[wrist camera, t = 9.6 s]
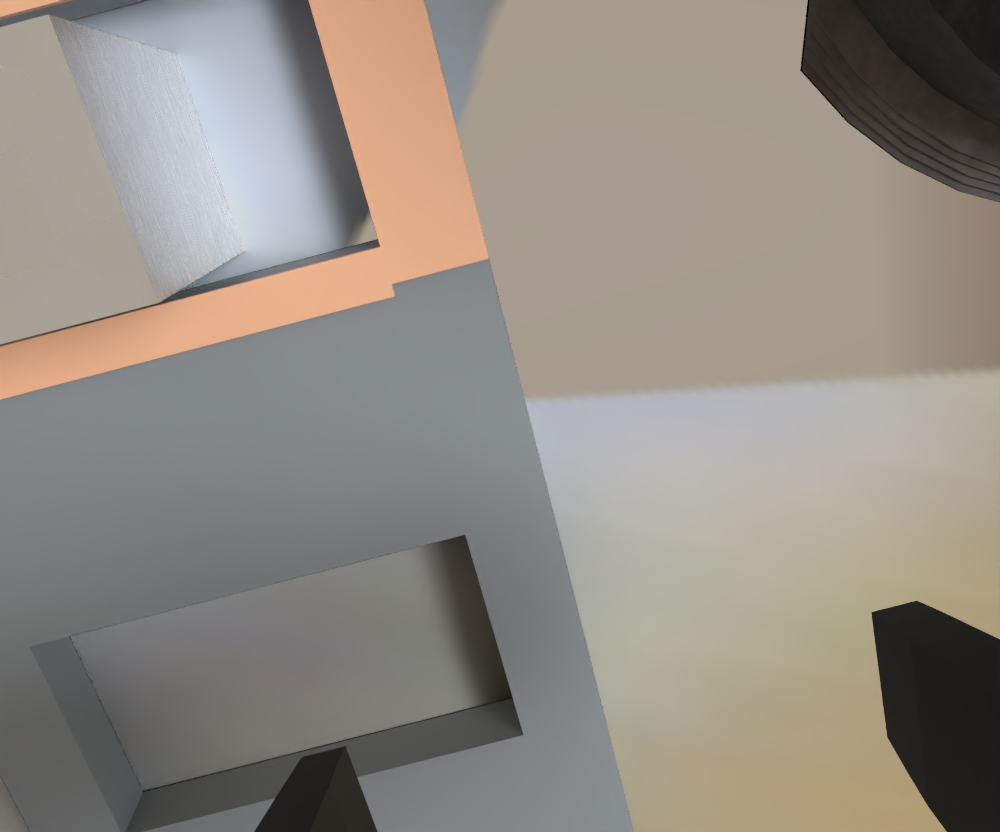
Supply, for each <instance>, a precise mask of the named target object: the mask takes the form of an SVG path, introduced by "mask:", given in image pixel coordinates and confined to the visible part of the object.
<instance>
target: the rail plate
mask: <svg viewBox="0 0 1000 832" xmlns="http://www.w3.org/2000/svg"><path fill="white" fill-rule="evenodd" d="M142 1H146V0H0V27H3V26H7V25H10V24H14V23H18V22H22V21H25V20H29V19H33V18H37V17H40V16H44V15H48V14H49V15H52V16H55V17H59V18H62V19H65V20H68V21H71V20H75V19H78V18H82V17H86V16H90V15H93V14H97V13H101V12H105V11H108V10H112V9H116V8H119V7H123V6H127V5H131V4H134V3H138V2H142ZM308 1H309V4H310V8H311V11H312V14H313V18H314V21H315V25H316V28H317V32H318V35H319V38H320V42H321V45H322V49H323V52H324V56H325V59H326V62H327V66H328V69H329V73H330V76H331V80H332V83H333V86H334V90H335V93H336V97H337V100H338V104H339V107H340V110H341V114H342V117H343V121H344V124H345V128H346V131H347V134H348V138H349V141H350V145H351V148H352V152H353V155H354V158H355V162H356V165H357V169H358V172H359V176H360V179H361V182H362V186H363V189H364V193H365V196H366V200H367V203H368V206H369V210H370V213H371V217H372V220H373V224H374V227H375V230H376V234H377V237H378V239H377V240H373V241H369V242H366V243H362V244H358V245H354V246H350V247H347V248H343V249H339V250H335V251H331V252H328V253H324V254H320V255H316V256H312V257H308V258H305V259H301V260H297V261H293V262H289V263H286V264H282V265H278V266H274V267H270V268H267V269H263V270H259V271H255V272H251V273H248V274H244V275H240V276H236V277H232V278H228V279H225V280H221V281H217V282H213V283H209V284H206V285H202V286H198V287H194V288H190V289H187V290H183V291H179V292H176V293H174V294H172V295H171V296H169V297H167V298H166V299H164V300H162V301H161V302H159V303H156V304H152V305H149V306H145V307H141V308H137V309H133V310H130V311H126V312H122V313H118V314H114V315H111V316H107V317H103V318H99V319H95V320H91V321H88V322H84V323H80V324H76V325H72V326H69V327H65V328H61V329H57V330H53V331H50V332H46V333H42V334H38V335H34V336H31V337H27V338H23V339H19V340H15V341H12V342H8V343H4V344H0V776H1V778H2V780H3V782H4V784H5V786H6V787H7V789H8V791H9V793H10V795H11V797H12V799H13V801H14V802H15V804H16V806H17V808H18V810H19V812H20V814H21V815H22V817H23V819H24V821H25V823H26V825H27V827H28V829H29V830H30V832H254V831H255V829H256V828H257V826H258V825H259V823H260V822H261V820H262V818H263V817H264V815H265V814H266V812H267V811H268V809H269V807H270V806H271V804H272V803H273V801H274V799H275V798H276V796H277V795H278V793H279V792H280V790H281V788H282V787H283V785H284V784H285V782H286V781H287V779H288V777H289V776H290V774H291V773H292V771H293V770H294V768H295V767H296V765H297V764H298V762H299V761H300V759H301V758H302V757H304V756H308V755H312V754H316V753H320V752H324V751H328V750H332V749H336V748H340V747H344V746H346V749H347V751H348V754H349V757H350V759H351V762H352V765H353V767H354V770H355V773H356V775H357V778H358V781H359V783H360V786H361V789H362V791H363V794H364V797H365V799H366V802H367V805H368V808H369V810H370V813H371V816H372V818H373V821H374V824H375V826H376V829H377V832H634V830H633V826H632V822H631V818H630V814H629V810H628V806H627V803H626V799H625V795H624V791H623V787H622V783H621V779H620V775H619V771H618V767H617V763H616V759H615V755H614V751H613V747H612V743H611V739H610V735H609V731H608V727H607V723H606V719H605V715H604V712H603V708H602V704H601V700H600V696H599V692H598V688H597V684H596V680H595V676H594V672H593V668H592V664H591V660H590V656H589V652H588V648H587V644H586V640H585V636H584V632H583V628H582V624H581V621H580V617H579V613H578V609H577V605H576V601H575V597H574V593H573V589H572V585H571V581H570V577H569V573H568V569H567V565H566V561H565V557H564V553H563V549H562V545H561V541H560V537H559V533H558V529H557V526H556V522H555V518H554V514H553V510H552V506H551V502H550V498H549V494H548V490H547V486H546V482H545V478H544V474H543V470H542V466H541V462H540V458H539V454H538V450H537V446H536V442H535V438H534V435H533V431H532V427H531V423H530V419H529V415H528V411H527V407H526V403H525V399H524V395H523V391H522V387H521V384H520V379H519V375H518V371H517V367H516V363H515V359H514V355H513V352H512V348H511V344H510V340H509V336H508V332H507V328H506V324H505V320H504V316H503V312H502V308H501V304H500V300H499V296H498V292H497V288H496V284H495V280H494V277H493V272H492V268H491V265H490V261H489V256H488V252H487V248H486V244H485V240H484V236H483V232H482V228H481V224H480V220H479V216H478V212H477V208H476V204H475V200H474V196H473V192H472V188H471V184H470V180H469V176H468V173H467V169H466V165H465V161H464V157H463V153H462V149H461V145H460V141H459V137H458V133H457V129H456V125H455V121H454V117H453V113H452V109H451V105H450V101H449V97H448V93H447V89H446V85H445V81H444V78H443V74H442V70H441V66H440V62H439V58H438V54H437V50H436V46H435V42H434V38H433V34H432V30H431V26H430V22H429V18H428V14H427V10H426V6H425V2H424V0H308ZM462 535H465V536H466V539H467V543H468V546H469V550H470V553H471V556H472V560H473V563H474V567H475V570H476V574H477V577H478V580H479V584H480V587H481V591H482V594H483V598H484V601H485V604H486V608H487V611H488V615H489V618H490V622H491V625H492V629H493V632H494V635H495V639H496V642H497V646H498V649H499V653H500V656H501V659H502V663H503V666H504V670H505V673H506V677H507V680H508V683H509V687H510V690H511V694H512V697H513V698H512V699H508V700H504V701H500V702H496V703H492V704H488V705H484V706H480V707H476V708H472V709H468V710H464V711H460V712H456V713H453V714H449V715H445V716H441V717H437V718H433V719H429V720H425V721H421V722H417V723H413V724H409V725H405V726H401V727H397V728H394V729H390V730H386V731H382V732H378V733H374V734H370V735H366V736H362V737H358V738H354V739H350V740H346V741H342V742H338V743H335V744H331V745H327V746H323V747H319V748H315V749H311V750H307V751H303V752H299V753H295V754H291V755H287V756H283V757H279V758H276V759H272V760H268V761H264V762H260V763H256V764H252V765H248V766H244V767H240V768H236V769H232V770H228V771H224V772H220V773H217V774H213V775H209V776H205V777H201V778H197V779H193V780H189V781H185V782H181V783H177V784H173V785H169V786H165V787H161V788H158V789H154V790H150V791H146V792H143V791H142V789H141V786H140V784H139V782H138V780H137V778H136V776H135V774H134V772H133V770H132V767H131V765H130V763H129V761H128V759H127V757H126V755H125V753H124V751H123V749H122V746H121V744H120V742H119V740H118V738H117V736H116V734H115V732H114V730H113V727H112V725H111V723H110V721H109V719H108V717H107V715H106V713H105V711H104V708H103V706H102V704H101V702H100V700H99V698H98V696H97V694H96V692H95V689H94V687H93V685H92V683H91V681H90V679H89V677H88V675H87V673H86V671H85V668H84V666H83V664H82V662H81V660H80V658H79V656H78V654H77V652H76V649H75V647H74V645H73V643H72V641H71V639H70V637H69V636H73V635H77V634H81V633H85V632H89V631H93V630H97V629H101V628H104V627H108V626H112V625H116V624H120V623H124V622H128V621H132V620H136V619H139V618H143V617H147V616H151V615H155V614H159V613H163V612H167V611H171V610H174V609H178V608H182V607H186V606H190V605H194V604H198V603H202V602H206V601H209V600H213V599H217V598H221V597H225V596H229V595H233V594H237V593H241V592H244V591H248V590H252V589H256V588H260V587H264V586H268V585H272V584H276V583H279V582H283V581H287V580H291V579H295V578H299V577H303V576H307V575H311V574H314V573H318V572H322V571H326V570H330V569H334V568H338V567H342V566H346V565H349V564H353V563H357V562H361V561H365V560H369V559H373V558H377V557H381V556H384V555H388V554H392V553H396V552H400V551H404V550H408V549H412V548H416V547H419V546H423V545H427V544H431V543H435V542H439V541H443V540H447V539H451V538H454V537H458V536H462Z"/></svg>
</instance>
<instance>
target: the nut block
mask: <svg viewBox="0 0 1000 832" xmlns="http://www.w3.org/2000/svg"><path fill="white" fill-rule="evenodd" d="M242 252H244V249H243V246H242V243H241V240H240V237H239V234H238V231H237V228H236V225H235V222H234V219H233V217H232V214H231V211H230V208H229V205H228V202H227V199H226V196H225V193H224V190H223V187H222V184H221V182H220V179H219V176H218V173H217V170H216V167H215V164H214V161H213V158H212V155H211V152H210V149H209V146H208V144H207V141H206V138H205V135H204V132H203V129H202V126H201V123H200V120H199V117H198V114H197V111H196V108H195V106H194V103H193V100H192V97H191V94H190V91H189V88H188V85H187V82H186V79H185V76H184V73H183V71H182V68H181V65H180V62H179V59H178V56H177V54H176V53H172V52H169V51H166V50H163V49H159V48H156V47H153V46H150V45H146V44H143V43H140V42H137V41H133V40H130V39H127V38H124V37H120V36H117V35H114V34H111V33H107V32H104V31H101V30H98V29H94V28H91V27H88V26H85V25H81V24H78V23H75V22H72V21H68V20H65V19H62V18H59V17H55V16H52V15H49V14H48V15H44V16H40V17H37V18H33V19H29V20H25V21H22V22H18V23H14V24H10V25H7V26H3V27H0V344H4V343H8V342H12V341H15V340H19V339H23V338H27V337H31V336H34V335H38V334H42V333H46V332H50V331H53V330H57V329H61V328H65V327H69V326H72V325H76V324H80V323H84V322H88V321H91V320H95V319H99V318H103V317H107V316H111V315H114V314H118V313H122V312H126V311H130V310H133V309H137V308H141V307H145V306H149V305H152V304H156V303H159V302H161V301H162V300H164V299H166V298H167V297H169V296H171V295H172V294H174V293H176V292H177V291H179V290H181V289H182V288H184V287H186V286H187V285H189V284H191V283H192V282H194V281H196V280H197V279H199V278H201V277H202V276H204V275H206V274H207V273H209V272H211V271H212V270H214V269H216V268H217V267H219V266H221V265H222V264H224V263H226V262H227V261H229V260H231V259H232V258H234V257H235V256H237V255H239V254H240V253H242Z"/></svg>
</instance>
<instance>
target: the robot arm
mask: <svg viewBox="0 0 1000 832" xmlns="http://www.w3.org/2000/svg"><path fill="white" fill-rule="evenodd" d="M872 620H873V628H874V636H875V643H876V651H877V659H878V667H879V675H880V682H881V690H882V698H883V706H884V714H885V722H886V729H887V737H888V739H889V741H890V742H891V744H892V746H893V748H894V749H895V751H896V753H897V755H898V756H899V758H900V760H901V762H902V763H903V765H904V767H905V768H906V770H907V772H908V774H909V775H910V777H911V779H912V780H913V782H914V784H915V785H916V787H917V789H918V790H919V792H920V794H921V795H922V797H923V798H924V800H925V802H926V803H927V805H928V807H929V808H930V809H931V811H932V812H933V813H934V815H935V816H936V818H937V819H938V820H939V822H940V823H941V824H942V826H943V827H944V828H945V830H946V831H947V832H1000V639H998V638H995V637H993V636H991V635H989V634H987V633H985V632H983V631H981V630H979V629H977V628H974V627H972V626H970V625H968V624H966V623H964V622H962V621H960V620H958V619H956V618H954V617H951V616H949V615H947V614H945V613H943V612H941V611H939V610H936V609H934V608H932V607H930V606H927V605H925V604H923V603H920V602H918V601H914V602H910V603H906V604H902V605H899V606H895V607H891V608H887V609H883V610H879V611H875V612H872ZM254 832H377V829H376V826H375V824H374V821H373V818H372V816H371V813H370V810H369V808H368V805H367V802H366V799H365V797H364V794H363V791H362V789H361V786H360V783H359V781H358V778H357V775H356V773H355V770H354V767H353V765H352V762H351V759H350V757H349V754H348V751H347V749H346V746H344V747H340V748H336V749H332V750H328V751H324V752H320V753H316V754H312V755H308V756H304V757H302V758H301V759H300V761H299V762H298V764H297V765H296V767H295V768H294V770H293V771H292V773H291V774H290V776H289V777H288V779H287V781H286V782H285V784H284V785H283V787H282V788H281V790H280V792H279V793H278V795H277V796H276V798H275V799H274V801H273V803H272V804H271V806H270V807H269V809H268V811H267V812H266V814H265V815H264V817H263V818H262V820H261V822H260V823H259V825H258V826H257V828H256V829H255V831H254Z"/></svg>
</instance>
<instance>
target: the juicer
mask: <svg viewBox="0 0 1000 832" xmlns="http://www.w3.org/2000/svg"><path fill="white" fill-rule="evenodd" d="M800 71H801V72H802V73H803V74H804V75H805V76H806V77H807V79H808V80H809V81H810V82H811V83H812V84H813V85H814V86H815V87H816V88H817V90H818V91H819V92H820V93H821V94H822V95H823V96H824V97H825V98H826V99H827V101H828V102H829V103H830V104H831V105H832V106H833V107H834V108H835V109H836V111H837V112H838V113H839V114H840V115H841V116H842V117H843V118H844V119H845V121H847V123H849V124H850V125H851V126H853V127H854V128H855V129H857V130H858V131H859V132H860V133H862V134H863V135H864V136H866V137H867V138H868V139H870V140H871V141H872V142H874V143H875V144H876V145H878V146H879V147H880V148H882V149H883V150H884V151H886V152H887V153H888V154H890V155H891V156H892V157H893V158H895V159H896V160H897V161H899V162H900V163H902V164H904V165H906V166H908V167H910V168H912V169H914V170H916V171H918V172H920V173H922V174H924V175H926V176H928V177H931V178H933V179H935V180H937V181H939V182H941V183H943V184H945V185H947V186H949V187H951V188H953V189H955V190H957V191H960V192H963V193H967V194H971V195H975V196H978V197H982V198H985V199H989V200H993V201H996V202H1000V0H808V2H807V12H806V21H805V31H804V40H803V50H802V59H801V69H800Z"/></svg>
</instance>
